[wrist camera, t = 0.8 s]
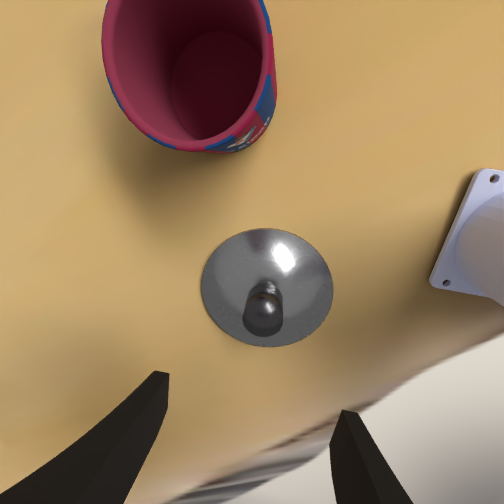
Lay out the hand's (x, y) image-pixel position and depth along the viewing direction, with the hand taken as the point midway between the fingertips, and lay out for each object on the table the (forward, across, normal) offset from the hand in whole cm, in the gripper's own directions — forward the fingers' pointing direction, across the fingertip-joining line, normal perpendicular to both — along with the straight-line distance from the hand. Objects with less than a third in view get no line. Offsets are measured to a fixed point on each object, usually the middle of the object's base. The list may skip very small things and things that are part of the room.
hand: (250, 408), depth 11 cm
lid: (+11, 0, 0) cm, 11 cm away
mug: (+11, +6, -14) cm, 19 cm away
